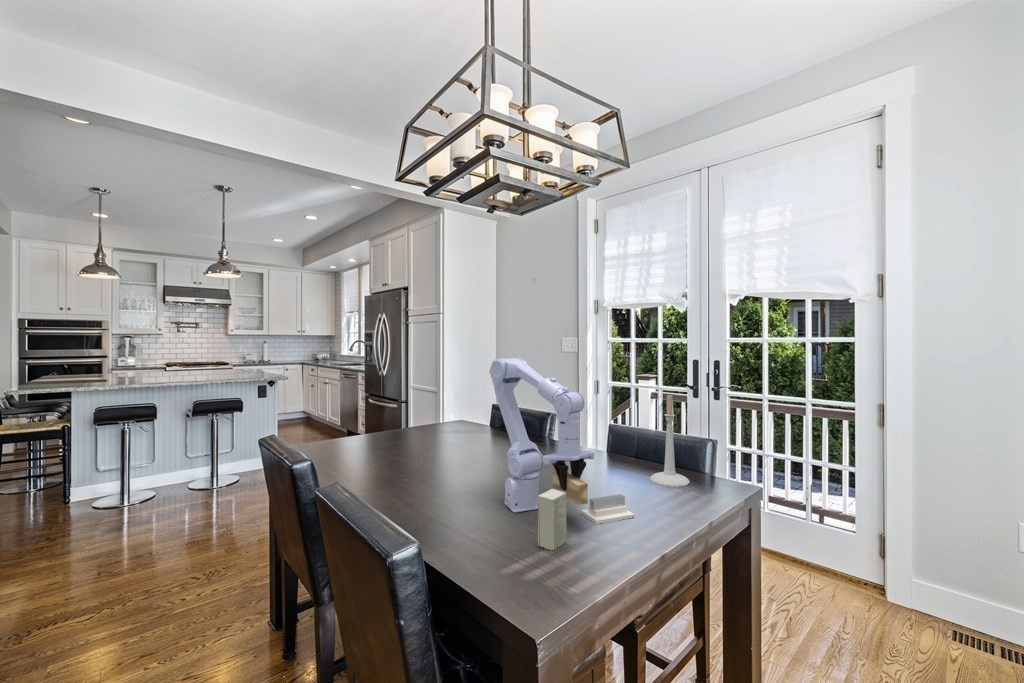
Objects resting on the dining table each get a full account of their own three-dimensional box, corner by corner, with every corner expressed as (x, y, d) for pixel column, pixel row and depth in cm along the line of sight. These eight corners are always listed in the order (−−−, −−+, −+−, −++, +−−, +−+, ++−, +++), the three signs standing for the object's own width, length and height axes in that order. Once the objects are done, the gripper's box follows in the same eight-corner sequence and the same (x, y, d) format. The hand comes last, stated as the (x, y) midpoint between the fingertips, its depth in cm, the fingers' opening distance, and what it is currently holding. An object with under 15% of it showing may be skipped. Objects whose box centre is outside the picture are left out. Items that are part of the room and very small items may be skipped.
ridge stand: (596, 524, 119) (596, 505, 119) (581, 513, 126) (581, 495, 126) (634, 517, 123) (634, 499, 123) (617, 507, 131) (617, 490, 131)
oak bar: (577, 504, 113) (577, 485, 113) (552, 487, 126) (552, 469, 126) (587, 503, 114) (587, 483, 114) (561, 486, 127) (561, 468, 127)
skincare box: (552, 537, 111) (552, 488, 111) (567, 542, 108) (567, 492, 108) (537, 546, 106) (536, 494, 106) (552, 552, 103) (552, 499, 103)
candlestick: (695, 487, 148) (695, 396, 148) (656, 487, 149) (656, 396, 149) (681, 475, 161) (681, 392, 161) (645, 475, 161) (645, 391, 161)
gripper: (551, 442, 114) (551, 496, 114) (600, 438, 119) (600, 489, 119) (539, 437, 120) (539, 487, 120) (586, 433, 126) (586, 481, 126)
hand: (569, 488), depth 120 cm, fingers closed on oak bar, 3 cm apart
